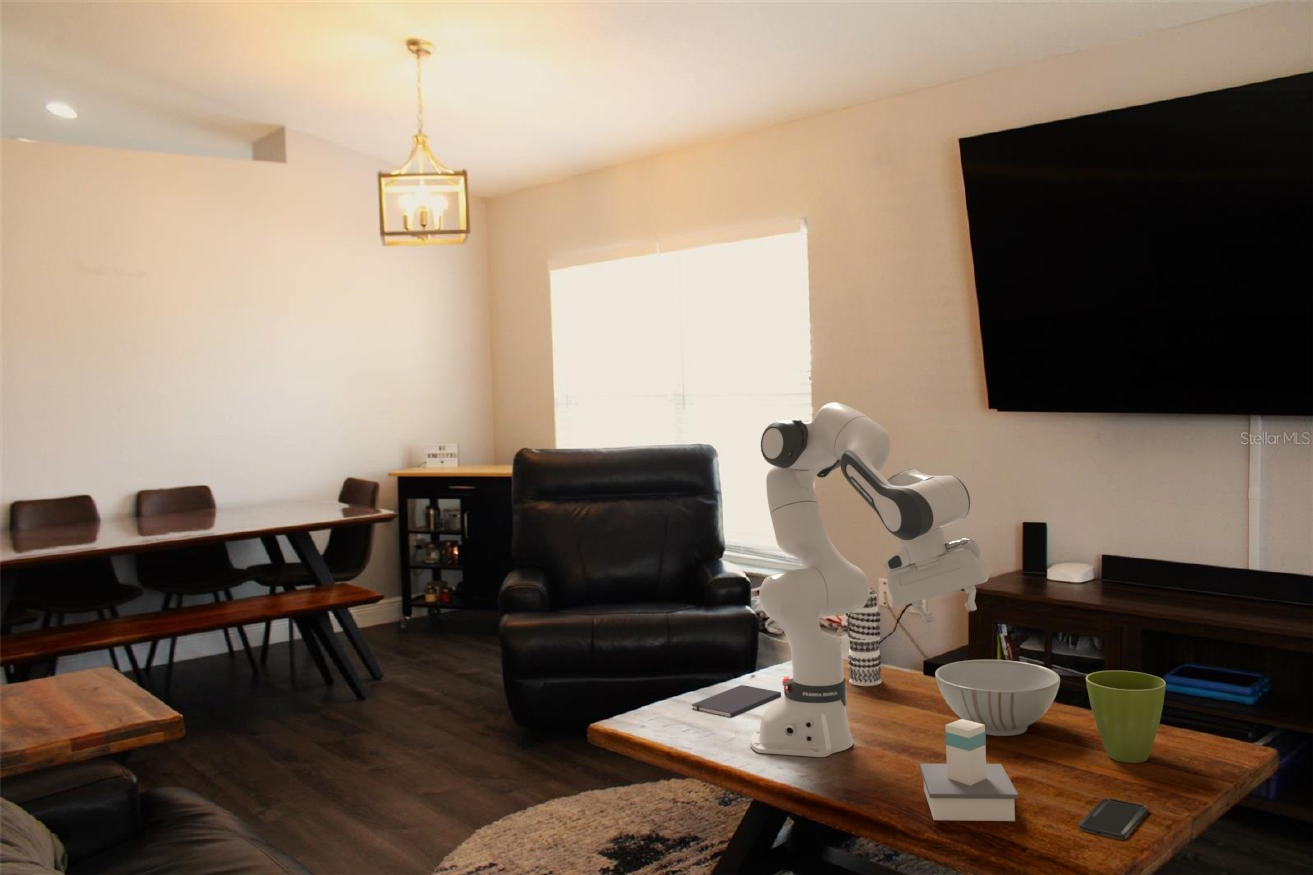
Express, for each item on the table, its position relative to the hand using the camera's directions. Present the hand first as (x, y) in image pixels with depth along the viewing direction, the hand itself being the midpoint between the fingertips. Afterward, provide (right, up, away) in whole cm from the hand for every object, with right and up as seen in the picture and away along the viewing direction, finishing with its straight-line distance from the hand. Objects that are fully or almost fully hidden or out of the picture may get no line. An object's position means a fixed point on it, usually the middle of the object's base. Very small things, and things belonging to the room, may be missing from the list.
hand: (950, 616), depth 204 cm
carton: (-1, -27, -14) cm, 31 cm away
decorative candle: (-3, -30, +70) cm, 76 cm away
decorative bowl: (+19, -30, +29) cm, 46 cm away
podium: (-1, -32, -14) cm, 35 cm away
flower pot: (+38, -30, +7) cm, 49 cm away
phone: (+22, -32, -23) cm, 46 cm away
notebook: (-38, -32, +57) cm, 75 cm away
